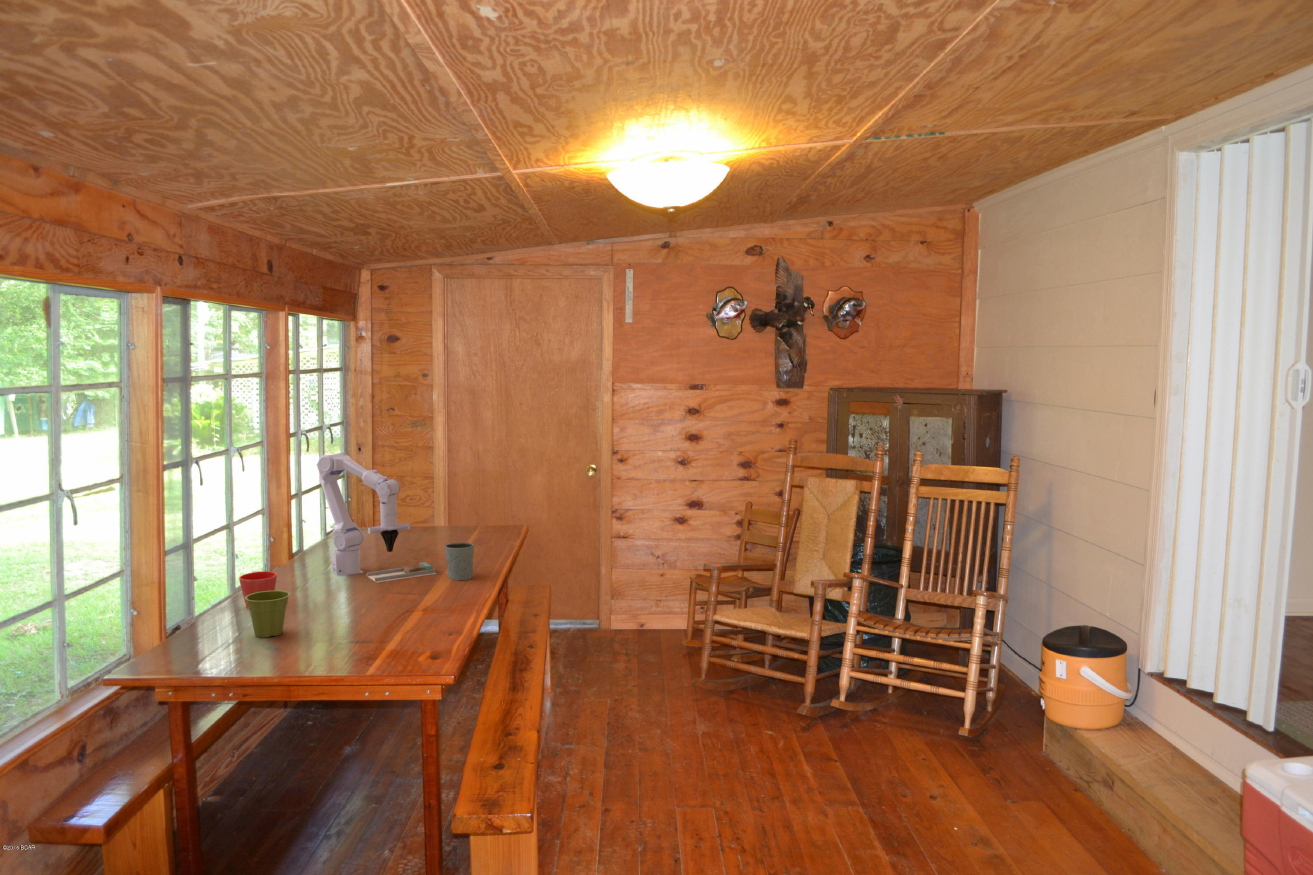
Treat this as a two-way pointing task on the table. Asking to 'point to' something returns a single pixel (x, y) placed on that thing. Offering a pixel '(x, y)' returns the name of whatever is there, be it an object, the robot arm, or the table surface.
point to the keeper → (413, 568)
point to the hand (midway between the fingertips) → (389, 551)
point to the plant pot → (268, 612)
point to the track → (399, 573)
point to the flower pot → (257, 583)
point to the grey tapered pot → (459, 560)
